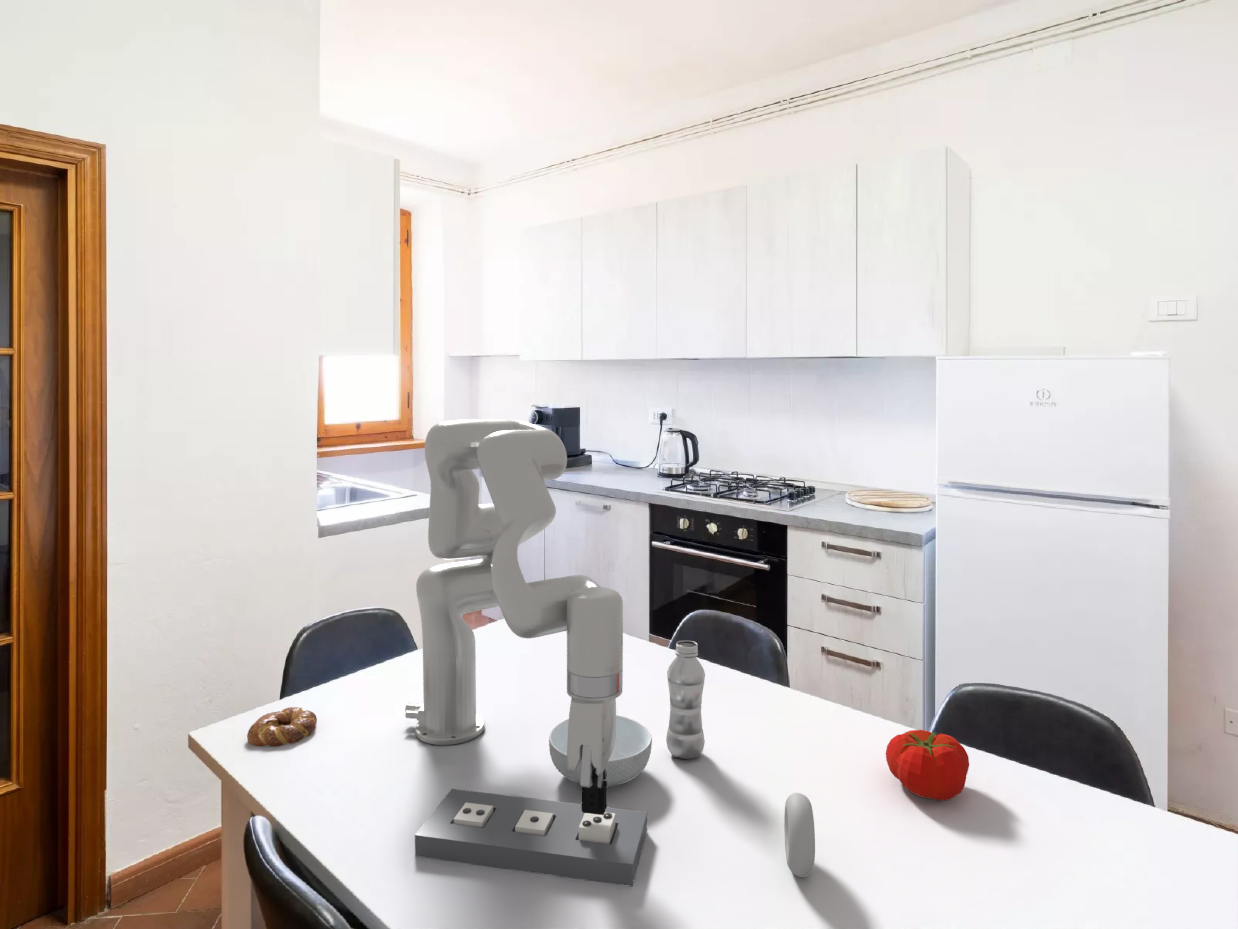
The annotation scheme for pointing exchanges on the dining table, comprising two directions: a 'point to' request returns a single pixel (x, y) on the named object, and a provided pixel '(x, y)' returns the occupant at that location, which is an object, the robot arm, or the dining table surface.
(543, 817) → the button one dot
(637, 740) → the cereal bowl
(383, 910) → the dining table surface
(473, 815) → the button two dots
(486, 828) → the button panel
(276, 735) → the pretzel
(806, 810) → the donut
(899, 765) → the tomato
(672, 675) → the plastic bottle
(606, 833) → the button three dots
